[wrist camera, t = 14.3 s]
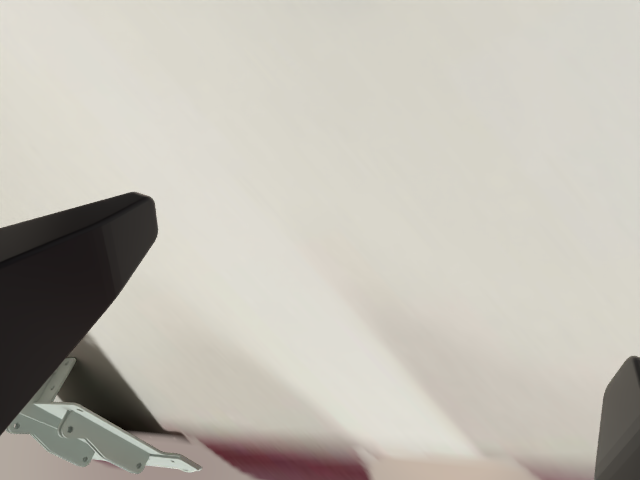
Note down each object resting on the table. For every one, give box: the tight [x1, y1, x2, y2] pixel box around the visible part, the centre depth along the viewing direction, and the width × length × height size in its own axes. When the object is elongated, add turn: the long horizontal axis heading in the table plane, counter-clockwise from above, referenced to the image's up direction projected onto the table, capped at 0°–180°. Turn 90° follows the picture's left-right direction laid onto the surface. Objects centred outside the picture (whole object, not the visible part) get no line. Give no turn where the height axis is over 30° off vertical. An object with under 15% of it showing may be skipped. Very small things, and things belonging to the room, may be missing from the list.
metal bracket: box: [6, 358, 202, 474], centre depth 45 cm, size 14×6×15 cm
